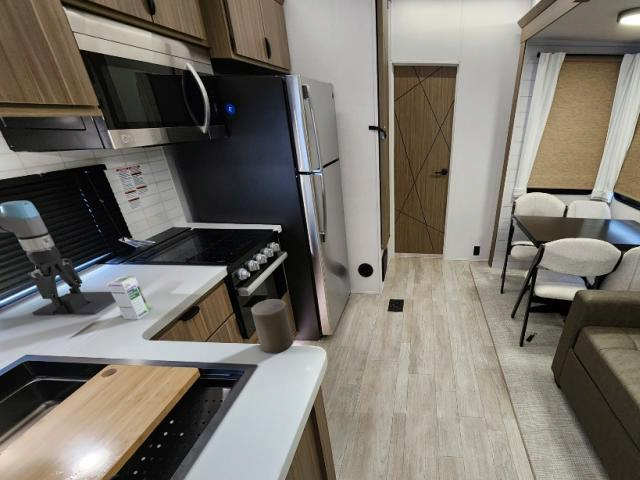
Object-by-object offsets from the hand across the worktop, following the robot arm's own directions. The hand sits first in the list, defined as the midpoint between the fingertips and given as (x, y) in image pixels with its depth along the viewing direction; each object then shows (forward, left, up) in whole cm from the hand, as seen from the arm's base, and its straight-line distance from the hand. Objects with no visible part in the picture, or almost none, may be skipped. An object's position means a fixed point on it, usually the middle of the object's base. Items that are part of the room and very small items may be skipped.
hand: (73, 308), depth 122 cm
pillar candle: (+82, -22, -2) cm, 85 cm away
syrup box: (+25, -3, -2) cm, 25 cm away
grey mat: (0, +4, -2) cm, 4 cm away
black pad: (0, 0, 0) cm, 0 cm away
